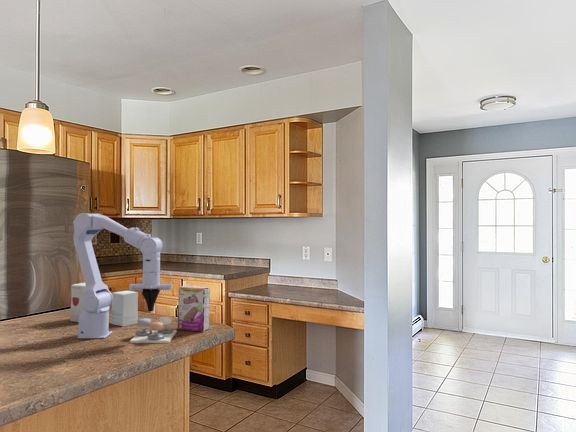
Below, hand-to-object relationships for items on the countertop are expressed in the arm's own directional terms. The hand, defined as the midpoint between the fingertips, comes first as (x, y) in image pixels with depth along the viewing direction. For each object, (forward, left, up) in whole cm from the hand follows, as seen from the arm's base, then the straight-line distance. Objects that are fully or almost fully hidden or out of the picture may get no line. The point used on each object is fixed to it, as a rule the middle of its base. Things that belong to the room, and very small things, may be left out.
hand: (150, 310), depth 150 cm
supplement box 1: (-33, +29, -10) cm, 45 cm away
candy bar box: (+13, +14, -10) cm, 22 cm away
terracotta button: (+2, -1, -6) cm, 7 cm away
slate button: (-3, +4, -6) cm, 8 cm away
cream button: (+4, +7, -6) cm, 10 cm away
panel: (+1, +3, -10) cm, 11 cm away
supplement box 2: (-16, +23, -10) cm, 30 cm away
